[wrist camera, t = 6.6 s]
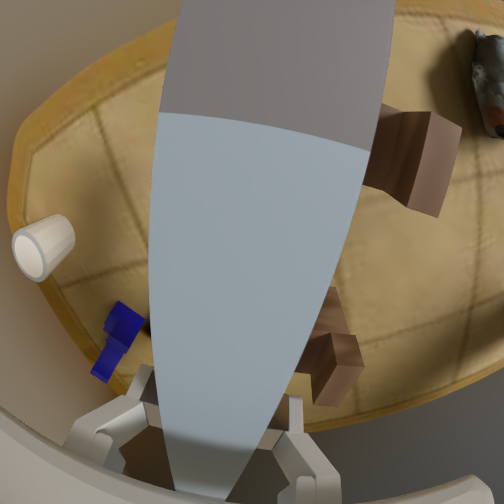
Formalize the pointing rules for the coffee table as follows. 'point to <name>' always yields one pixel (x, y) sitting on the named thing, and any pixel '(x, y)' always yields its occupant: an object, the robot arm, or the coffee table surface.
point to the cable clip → (117, 339)
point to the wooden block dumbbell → (407, 193)
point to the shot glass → (43, 246)
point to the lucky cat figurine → (490, 81)
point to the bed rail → (252, 209)
